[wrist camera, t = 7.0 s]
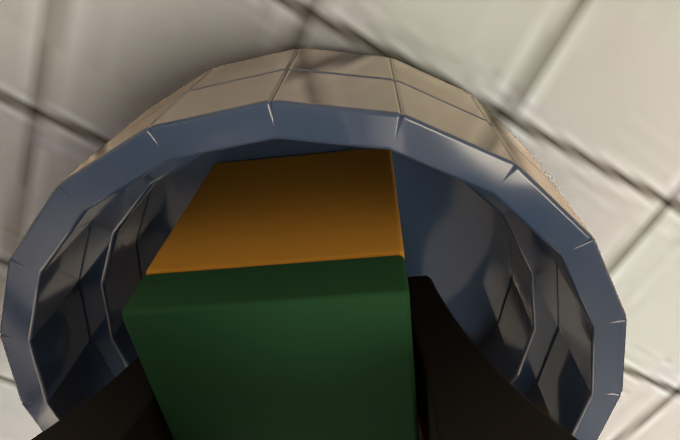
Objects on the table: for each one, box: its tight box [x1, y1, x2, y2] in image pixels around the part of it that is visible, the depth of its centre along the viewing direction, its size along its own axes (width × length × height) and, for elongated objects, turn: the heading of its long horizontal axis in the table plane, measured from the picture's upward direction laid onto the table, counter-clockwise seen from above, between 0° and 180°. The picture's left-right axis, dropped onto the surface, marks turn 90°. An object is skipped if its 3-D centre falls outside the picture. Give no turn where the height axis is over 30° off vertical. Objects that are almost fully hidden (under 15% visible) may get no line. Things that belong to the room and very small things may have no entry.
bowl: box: [0, 48, 627, 440], centre depth 12 cm, size 12×12×4 cm
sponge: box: [122, 148, 419, 440], centre depth 11 cm, size 8×4×6 cm, turn 7°
